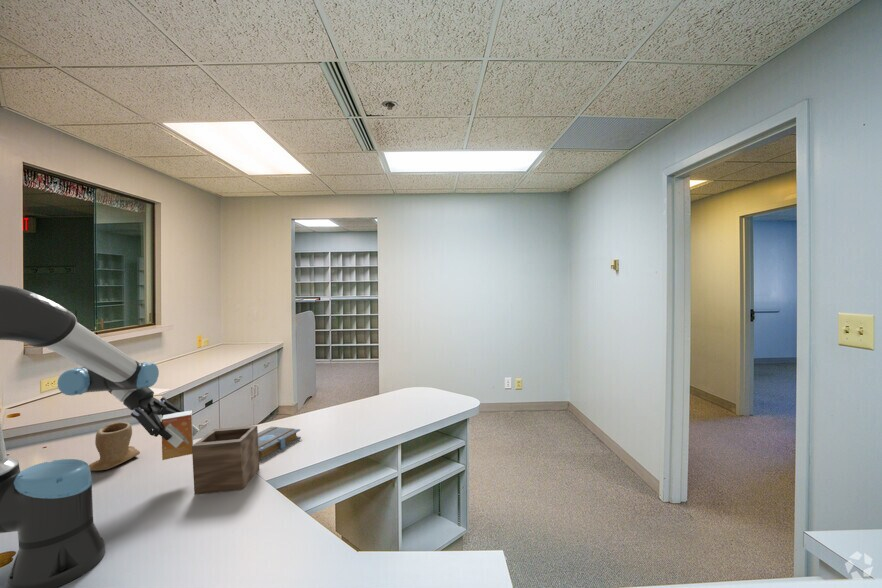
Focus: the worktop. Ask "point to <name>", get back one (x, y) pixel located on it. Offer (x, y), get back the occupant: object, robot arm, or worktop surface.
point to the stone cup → (113, 446)
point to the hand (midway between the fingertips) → (188, 438)
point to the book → (275, 440)
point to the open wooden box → (225, 459)
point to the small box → (182, 428)
